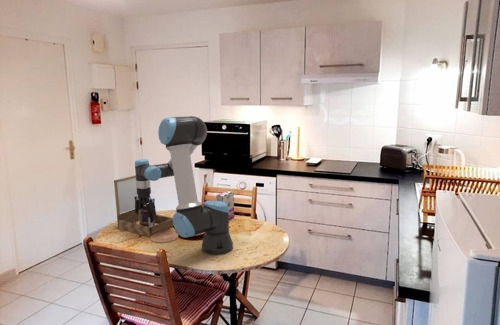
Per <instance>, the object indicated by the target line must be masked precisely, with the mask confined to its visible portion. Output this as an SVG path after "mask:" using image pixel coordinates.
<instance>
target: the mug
mask: <svg viewBox="0 0 500 325" xmlns="http://www.w3.org/2000/svg"><path fill="white" fill-rule="evenodd" d="M141 211H142V218H141ZM148 217H149V214H148V211H147V208H146V206H143V207H142V209H140V210H139V222H140V224H142V225H143V226H147V227H149V221H148ZM139 222H138V223H139ZM154 222H155V220H154ZM154 222H153V226H155V225H156V223H154Z"/></svg>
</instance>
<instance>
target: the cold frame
mask: <svg viewBox="0 0 500 325" xmlns="http://www.w3.org/2000/svg"><path fill="white" fill-rule="evenodd" d="M144 206H145V204H144ZM116 220H117V229H119V230H122V231H126V232H130V233H133V234H137V235H139V236H140V235H141V236H143V237H144V236H145V237H148V238H151V236H152V235H153V234H155V233H158V232H163V231H169V230H170V229H172V228H174V227H173V217H169V216H165V215H160V214H156V216H154V220H155V222H154V223H155V226H152V227H147V226H143V225H139V224H137V223H139V219H138V214H137V213H135V209H132V210H129V211H126V212H123V213H120V215H117V214H116Z"/></svg>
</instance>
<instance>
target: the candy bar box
mask: <svg viewBox="0 0 500 325" xmlns="http://www.w3.org/2000/svg"><path fill="white" fill-rule="evenodd" d="M234 195H235V194H234V191H230V190H227V191H223V192H220V193H219V194H216V201H221V202H224V203H226V204H227V205H228V210H229V221H230V220H232V219H234V218H235V199H234Z"/></svg>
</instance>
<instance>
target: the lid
mask: <svg viewBox="0 0 500 325" xmlns="http://www.w3.org/2000/svg"><path fill="white" fill-rule="evenodd" d="M113 184H114V197H115V210H116V216H117V215H120V214H122V213H125V212H127V211H130V210H133V209H135V198H134V197H135V196H138V195H137V187H136V174H135V175H131V176H130V175H129V176H127V177H123V178H119V179H115V180H113Z"/></svg>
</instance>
